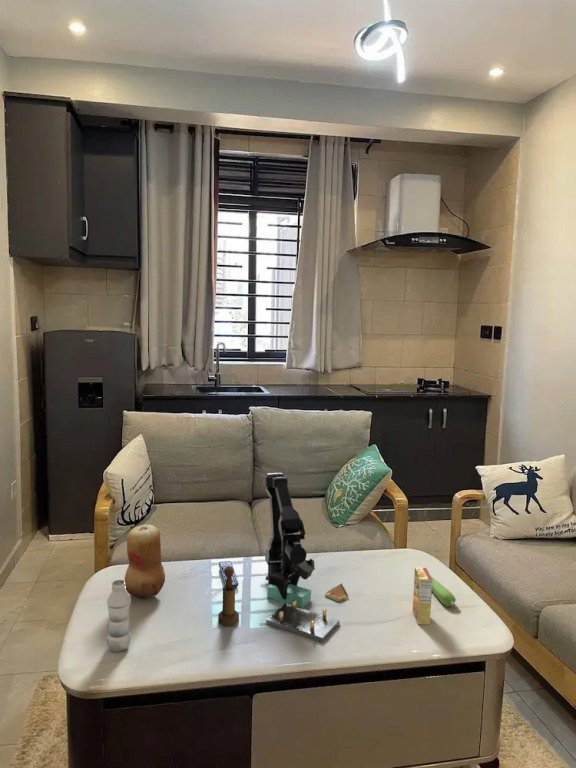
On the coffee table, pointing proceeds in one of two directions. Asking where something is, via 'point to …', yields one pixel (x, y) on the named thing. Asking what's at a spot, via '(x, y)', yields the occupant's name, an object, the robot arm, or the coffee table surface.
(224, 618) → the brown wooden tall piece
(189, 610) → the coffee table surface
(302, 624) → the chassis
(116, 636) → the plastic bottle
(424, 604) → the candy box
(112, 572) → the coffee table surface
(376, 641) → the coffee table surface
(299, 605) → the green rectangular block
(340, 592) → the shard
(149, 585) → the butternut squash
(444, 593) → the green cucumber
